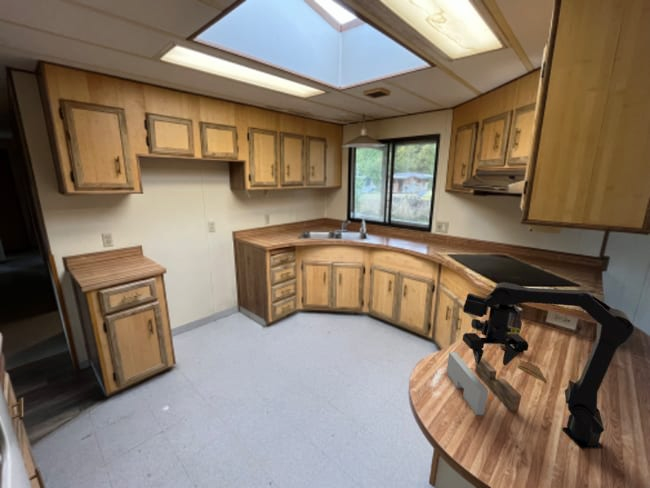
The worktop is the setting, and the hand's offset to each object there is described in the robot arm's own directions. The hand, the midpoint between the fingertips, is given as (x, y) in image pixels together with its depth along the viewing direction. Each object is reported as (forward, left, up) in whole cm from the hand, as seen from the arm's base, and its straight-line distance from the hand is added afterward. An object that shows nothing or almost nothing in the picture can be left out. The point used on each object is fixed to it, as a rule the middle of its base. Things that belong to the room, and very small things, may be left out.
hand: (490, 364), depth 94 cm
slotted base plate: (+4, -6, -13) cm, 14 cm away
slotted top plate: (+3, +6, -13) cm, 14 cm away
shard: (+14, -29, -14) cm, 35 cm away
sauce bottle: (+29, -29, -13) cm, 43 cm away
